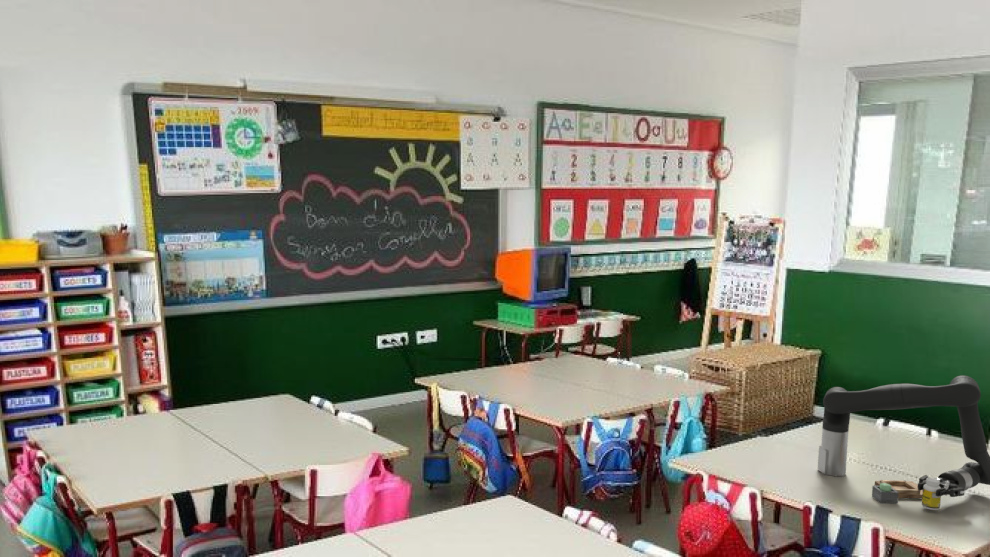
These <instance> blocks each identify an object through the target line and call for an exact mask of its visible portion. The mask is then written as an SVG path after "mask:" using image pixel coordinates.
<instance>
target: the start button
mask: <svg viewBox="0 0 990 557" xmlns="http://www.w3.org/2000/svg"><path fill="white" fill-rule="evenodd" d="M880 490H881V491H891V485H890V484H886V483H880Z"/></svg>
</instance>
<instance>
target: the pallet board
mask: <svg viewBox="0 0 990 557" xmlns="http://www.w3.org/2000/svg"><path fill="white" fill-rule="evenodd" d="M880 483H886V484H890V485H891V487H892V488H893V489H894V490H896V491H897V492H899V493H898V498H922V494H923V490H918V488H917V487H918V483H916V482H914V481H911V480H908V481H907V480H895V479H894V480H891V479H890V480H889V479H888V480H887V479H884V480H883V479H880V480H875V481H874V486H880Z"/></svg>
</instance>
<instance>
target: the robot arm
mask: <svg viewBox="0 0 990 557" xmlns="http://www.w3.org/2000/svg"><path fill="white" fill-rule="evenodd" d="M981 397H982V395H981V389H980V387H979V384H978V382H977V381H976V380H975V379H974V378H973V377H971V376H968V375H958V376H955V377H954V378H953V379H951V381H950V383H949V384H946V385H945V384H944V385H936V386H932V385H930V386H929V385H922V384H917V383H916V384H914V383H893V384H892V383H891V384H890V383H889V384H886V385H880V386H877V387H875V386H874V387H873V388H870V389H869V388H868V389H864V390H856V391H855V390H853V391H849V390H846V389H845V388H844V387H841V386H833V387H831V388H829V389H828V390H827V391H826V393H825V395H824V397H823V399H822V404H823V407H824V408H823V417H822V418H823V419H822V431H821V445H819V446H818V457H817V458H818V460H817V470H818V472H819V471H820V473H822V474H823V475H826V476H832V477H833V476H834V477H843V476H846V473H847V460H848V458H847V456H848V446H849V445H848V442H849V431H850V430H849V427H850V421H851V420H850V419H851V413H855V412H861V411H883V410H884V411H887V410H888V411H889V410H905V409H906V410H907V409H918V408H930V407H956V408H957V413H958V416H959V423H960V432H961V438H962V439H961V441H962V445H963V451H964V454H965V456H966V458H967V459H969V460H972V461H971V462H965V463H964V464H963V466H962V467H960V468H957V469H951V470H947V471H945V472H942V473H940V474H939V475H938V476H937V477H934V478H935V479H938V480H939V481H940V484H939V487H941V488H940V489H937V490H936V496H938V497H939V496H941V497H942V496H946V497H947V496H948V495H949V497H951V498H955V497H962V496H965V493H966V492H965V491H967V490H969V489H971V488H973V487H974V488H975V487H976V486H977V485H979V484H981V485H982V484H983V485H988V486H990V454H989V452H988V446H987V442H986V436H985V433H984V428H983V425H982V421H981V418H980V412H979V405H978V404H979V403H978V402H980V400H981ZM973 461H974V462H973ZM918 478H919V477H918ZM926 478H929V475H927V474H924V475H922V476H921V477H920V478H919V479H918V483H917V485H918V487H917V488H918V490H923V486H924V484H927V483H926Z"/></svg>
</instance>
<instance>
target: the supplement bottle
mask: <svg viewBox="0 0 990 557" xmlns="http://www.w3.org/2000/svg"><path fill="white" fill-rule="evenodd" d="M935 478H936V477H928V478H926V483H927V484H924V486H923V494H922V499H921V506H922V507H923V508H925V509H927V510H931V511H938V510H939V509H940V508H941V501H942V500H941V499H942V498H941V497H942V496H939V497H938V496H936V490H937V489H940V488H941V487H939V484H940V481H939V480H938V479H935Z"/></svg>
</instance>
